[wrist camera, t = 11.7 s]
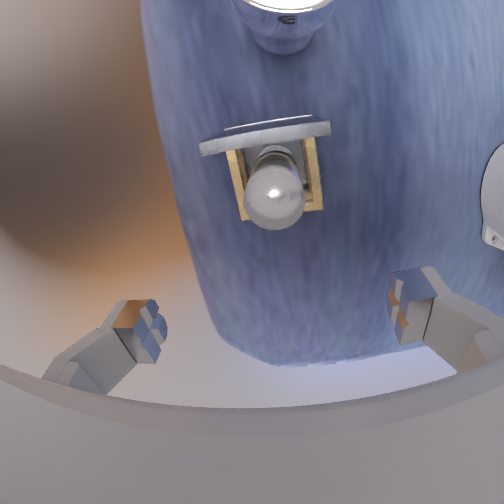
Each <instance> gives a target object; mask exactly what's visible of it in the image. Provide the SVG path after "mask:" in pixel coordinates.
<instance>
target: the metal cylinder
mask: <svg viewBox="0 0 504 504" xmlns="http://www.w3.org/2000/svg"><path fill="white" fill-rule="evenodd" d="M305 203H306V201H305V194H304V190H303V186H302V183H301V179H300V176H299V172H298V168H297V165H296V162H295V159H294V156H293V154H292V153H291V152H290V151H289V150H288V149H287V148H285V147H283V146H279V145H272V146H268V147H266V148H265V149H263V150H262V151H261V152H260V154H259V155H258V158H257V160H256V162H255V164H254V167H253V170H252V173H251V176H250V178H249V181H248V183H247V186H246V189H245V191H244V195H243V206H244V209H245V212H246V214H247V216H248V217H249V218H250V219H251V220H252V221H253V222H254V223H255V224H256V225H258V226H260V227H262V228H265V229H269V230H280V229H284V228H287V227H289V226H291V225H293V224H294V223H295V222H297V221H298V219H299V218H300V217H301V215H302V214H303V211H304V208H305Z"/></svg>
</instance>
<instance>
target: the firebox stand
mask: <svg viewBox="0 0 504 504" xmlns="http://www.w3.org/2000/svg"><path fill="white" fill-rule="evenodd" d="M330 135H331V128H330V121H328V120H325V119H321V118H318V117H315V116H312V115H311V114H309V115H301V116H293V117H286V118H280V119H273V120H267V121H261V122H256V123H250V124H245V125H240V126H235V127H230V128H226V129H224V131H221V132H219V133H217V134H215V135H213V136H212V137H210V138H208V139H206V140H204V141H202V142H200V143H198V144H199V148H200V152H201V156H202V157H203V156H207V155H212V154H216V153H221V152H226V155H227V159H228V163H229V168H230V172H231V176H232V181H233V185H234V189H235V194H236V198H237V202H238V207H239V211H240V215H241V219H242V221H243V220H250V218H249V217H248V216H247V214H246V212H245V209H244V206H243V195H244V191H245V189H246V186H247V183H248V181H249V178H250V176H251V173H252V170H253V167H254V164H255V162H256V160H257V158H258V155H259V154H260V152H261V151H262V150H263V149H265V148H266V147H268V146H272V145H279V146H283V147H285V148H287V149H288V150H289V151H290V152H291V153H292V154H293V156H294V159H295V162H296V165H297V168H298V172H299V176H300V179H301V183H302V186H303V190H304V194H305V201H306V203H305V208H304V211H303V212H306V211H313V210H321V209H323V203H322V199H323V190H322V181H321V173H320V166H319V158H318V151H317V144H316V138H315V137H320V136H330Z"/></svg>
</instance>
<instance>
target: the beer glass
mask: <svg viewBox="0 0 504 504" xmlns="http://www.w3.org/2000/svg"><path fill="white" fill-rule="evenodd" d="M232 1H233V4H234V6H235V8H236V10H237V12H238V14H239V15H240V17H241V18H242V19H243V21H244V22H245V23H246V24H247V25H248V26H249V27H250V28H252V33H253V37H254V39H255V41H256V42H257V44H258V45H259V46H260V47H261V48H263V49H264V50H266V51H268V52H270V53H273V54H277V55H290V54H294V53H297V52H299V51H301V50H302V49H304V48H305V47H306V46H307V45H308V43H309V42H310V40H311V36H312V33H314V32H315V31H316V30H318V29H319V28H320V27H322V26H323V25H324V24H325V22H326V21H327V20H328V19H329V17H330V16H331V14H332V13H333V11H334V9H335V7H336V5H337V2H338V0H232Z"/></svg>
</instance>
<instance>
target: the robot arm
mask: <svg viewBox="0 0 504 504" xmlns="http://www.w3.org/2000/svg"><path fill="white" fill-rule="evenodd" d="M481 207H482V213H483V228H482V240H483V241H484V242H485V243H487V244H489V245H491V246H494V247H496V248H499V249H501V250H503V251H504V144H502V145H501V146H500V147H499V148H498V149H497V150H496V151H495V152H494V154H493V155H492V157H491V159H490V161H489V163H488V165H487V167H486V170H485V174H484V177H483V182H482V189H481ZM389 285H390V287H391V290H390V291H389V293H388V294H387V310H388V314H389V318H390V320H391V321H392V322H393V323H395V330H394V331H395V333H396V336H397V339H398V341H399V344H400V345H402V344H408V343H413V342H418V341H422V340H423V342H424V343H425V344H426V345H427V346H429V347H430V348H431V349H432V350H433V351H435V352H436V353H437V354H438V355H439V356H441V357H442V358H443V359H444V360H445V361H446V362H447V363H449V364H450V365H451V366H452V367H453V368H454V369H456V370H457V373H456V375H453V376H450V377H447V378H444V379H440V380H437V381H434V382H431V383H427V384H423V385H419V386H416V387H412V388H408V389H404V390H399V391H396V392H391V393H386V394H381V395H376V396H372V397H366V398H360V399H354V400H347V401H341V402H333V403H325V404H316V405H308V406H307V405H306V406H295V407H280V408H249V409H248V408H247V409H246V408H240V409H239V408H205V407H189V406H177V405H167V404H158V403H149V402H142V401H135V400H129V399H123V398H117V397H112V396H107V394H108V393H109V392H110V391H111V390H112V389H113V388H114V387H115V386H116V385H117V384H118V383H119V382H120V381H121V379H122V378H124V377H125V376H126V375H127V374H128V373H129V372H130V371H131V370H132V368H134V367H135V366H136V365H137V364H136V363H145V364H146V363H147V364H155V363H156V361H157V359H158V356H159V354H160V352H161V349H160V345H161V344H162V343H163V342H165V340H166V337H167V325H166V321H165V319H164V317H163V316H161V315H160V314H159V313H158V309H159V307H158V305H157V303H156V302H155V301H154V300H152V299H144V300H122V301H118V302H117V303H116V304H115V306H114V308H113V309H112V311H111V312H110V313H109V315H108V317H107V318H106V319H105V321H104V323H103V324H102V325H101V327H100V328H96V329H95V330H93V331H92V332H90V333H89V334H88V335H86V336H85V337H83V338H82V339H80V340H79V341H78V342H76V343H75V344H73V345H72V346H70V347H69V348H67V349H66V350H65V351H64V352H62V353H60V354H59V355H58V356H56V357H55V358H54V359H53V361H52V363H51V364H50V366H49V367H48V369H47V370H46V372H45V374H44V375H43V377H42V379H41V378H37V377H35V376H31V375H29V374H26V373H23V372H20V371H17V370H15V369H12V368H9V367H7V366H4V365H2V364H0V504H504V318H503V317H502V316H500V315H498V314H496V313H494V312H492V311H490V310H488V309H487V308H485V307H483V306H481V305H479V304H477V303H475V302H473V301H471V300H469V299H467V298H465V297H463V296H461V295H459V294H457V293H452V292H451V291H450V290H449V288H448V287H447V285H446V284H445V282H444V281H443V280H442V278H441V277H440V275H439V274H438V273H437V271H436V270H435V269H434V267H433V266H431V265H428V266H423V267H418V268H415V269H410V270H404V271H398V272H392V273H390V276H389Z"/></svg>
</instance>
